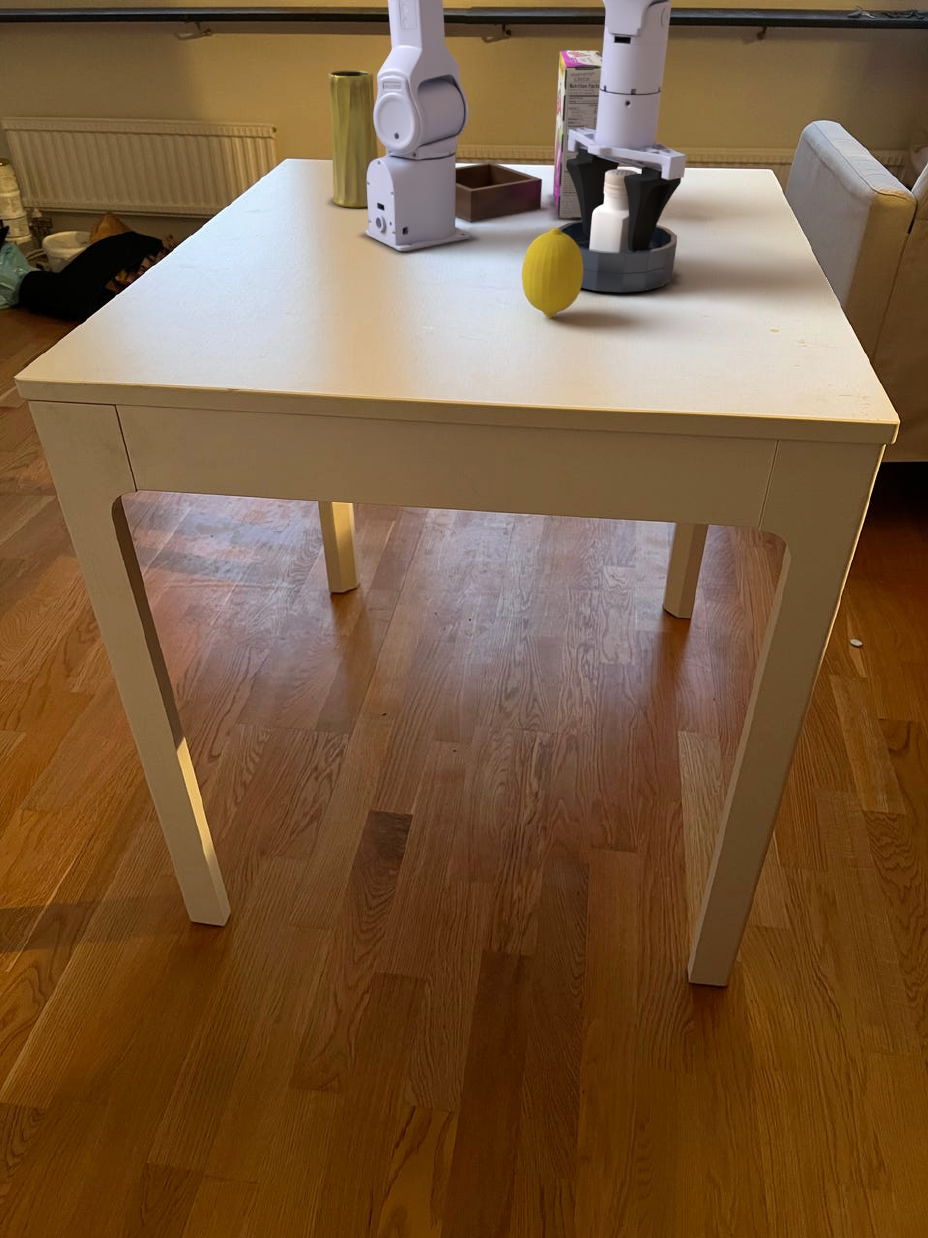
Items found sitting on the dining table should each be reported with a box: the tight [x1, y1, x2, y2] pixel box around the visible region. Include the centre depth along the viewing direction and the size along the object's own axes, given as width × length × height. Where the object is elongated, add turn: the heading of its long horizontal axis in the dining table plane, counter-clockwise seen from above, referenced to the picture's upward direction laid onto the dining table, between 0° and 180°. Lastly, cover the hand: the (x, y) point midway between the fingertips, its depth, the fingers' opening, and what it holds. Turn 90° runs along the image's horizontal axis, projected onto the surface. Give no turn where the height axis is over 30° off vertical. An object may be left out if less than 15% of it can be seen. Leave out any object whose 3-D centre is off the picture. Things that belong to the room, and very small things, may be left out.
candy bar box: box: [552, 49, 602, 221], centre depth 115 cm, size 11×5×16 cm, turn 179°
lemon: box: [521, 227, 583, 319], centre depth 87 cm, size 6×6×8 cm
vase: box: [327, 69, 379, 209], centre depth 117 cm, size 6×6×14 cm
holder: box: [455, 161, 543, 223], centre depth 119 cm, size 11×11×4 cm
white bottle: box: [589, 168, 639, 252], centre depth 96 cm, size 4×4×10 cm
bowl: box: [557, 220, 678, 293], centre depth 98 cm, size 12×12×4 cm
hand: (615, 240), depth 97 cm, fingers open, 6 cm apart
